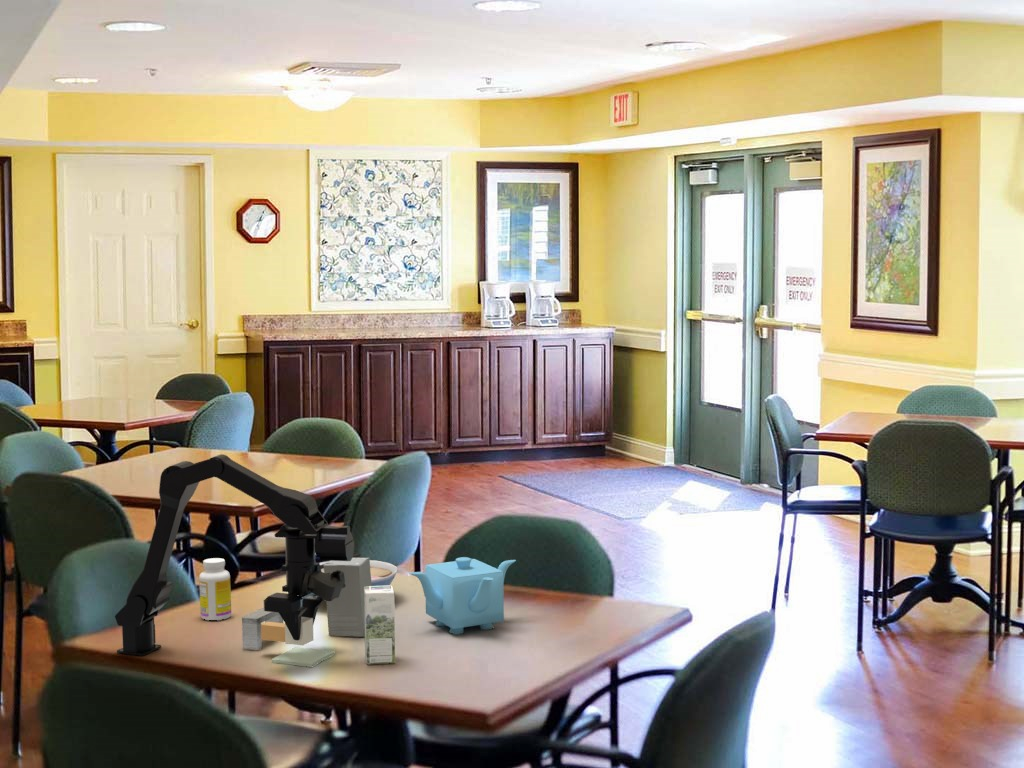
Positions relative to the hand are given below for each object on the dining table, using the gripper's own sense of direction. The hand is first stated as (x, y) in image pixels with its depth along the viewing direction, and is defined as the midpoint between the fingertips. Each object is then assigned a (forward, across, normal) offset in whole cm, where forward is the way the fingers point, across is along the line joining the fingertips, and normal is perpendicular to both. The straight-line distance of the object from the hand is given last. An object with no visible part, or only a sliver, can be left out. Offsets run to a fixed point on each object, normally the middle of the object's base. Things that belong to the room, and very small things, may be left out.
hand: (302, 637), depth 272 cm
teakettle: (+4, +32, -21) cm, 39 cm away
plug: (+1, 0, +4) cm, 4 cm away
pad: (+4, 0, 0) cm, 4 cm away
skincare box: (+4, +19, 0) cm, 20 cm away
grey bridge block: (+4, +6, +13) cm, 15 cm away
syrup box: (+4, +4, -15) cm, 16 cm away
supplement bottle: (+5, +20, +34) cm, 40 cm away
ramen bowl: (+4, +42, +13) cm, 44 cm away
